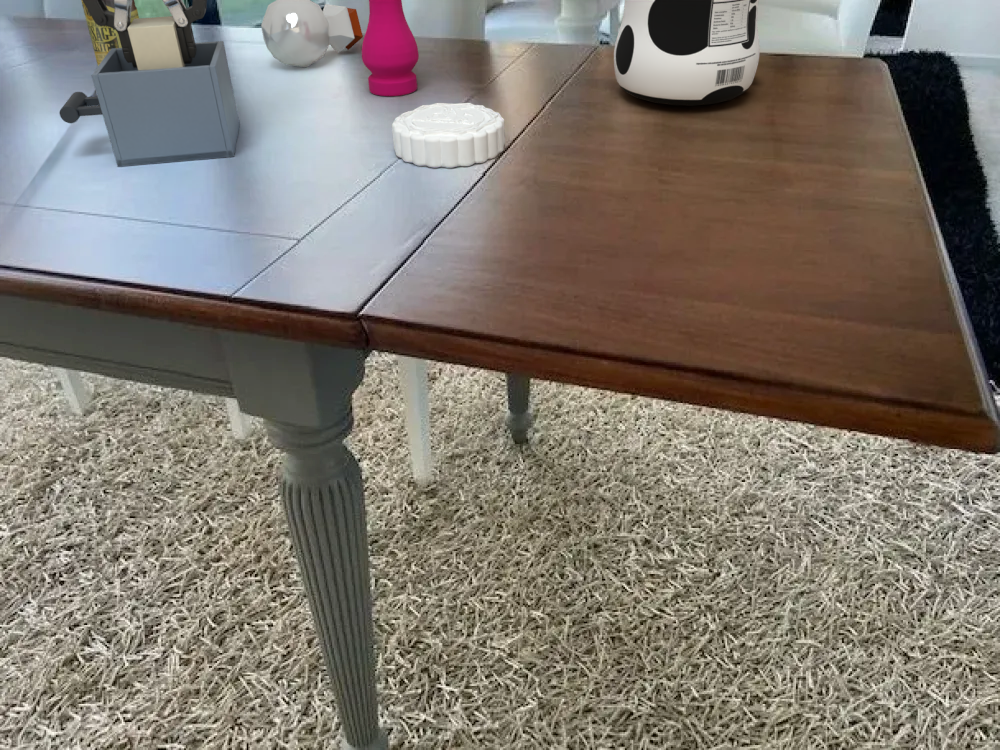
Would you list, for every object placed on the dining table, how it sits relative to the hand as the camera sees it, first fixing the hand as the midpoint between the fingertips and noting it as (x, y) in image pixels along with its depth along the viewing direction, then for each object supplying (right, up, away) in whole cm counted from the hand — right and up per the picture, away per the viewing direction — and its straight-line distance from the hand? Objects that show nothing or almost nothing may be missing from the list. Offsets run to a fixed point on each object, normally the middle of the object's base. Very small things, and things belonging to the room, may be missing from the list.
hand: (163, 63), depth 91 cm
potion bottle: (+9, +13, +34) cm, 37 cm away
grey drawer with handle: (-2, -8, +5) cm, 9 cm away
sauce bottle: (-13, +4, +22) cm, 26 cm away
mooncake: (+30, -9, +2) cm, 32 cm away
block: (0, 0, 0) cm, 0 cm away
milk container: (+59, +2, +16) cm, 61 cm away
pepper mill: (+22, +4, +21) cm, 30 cm away
